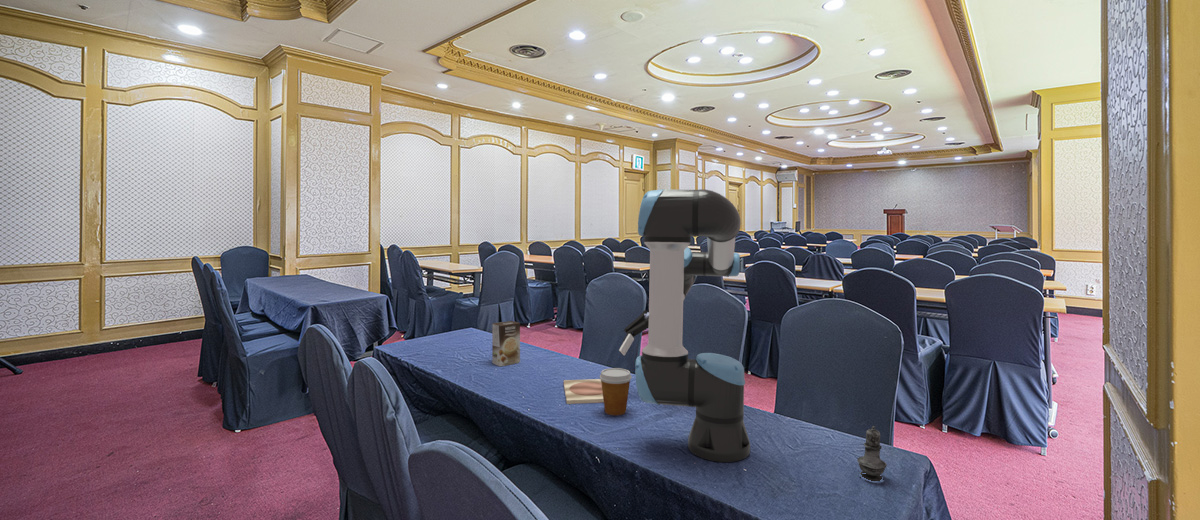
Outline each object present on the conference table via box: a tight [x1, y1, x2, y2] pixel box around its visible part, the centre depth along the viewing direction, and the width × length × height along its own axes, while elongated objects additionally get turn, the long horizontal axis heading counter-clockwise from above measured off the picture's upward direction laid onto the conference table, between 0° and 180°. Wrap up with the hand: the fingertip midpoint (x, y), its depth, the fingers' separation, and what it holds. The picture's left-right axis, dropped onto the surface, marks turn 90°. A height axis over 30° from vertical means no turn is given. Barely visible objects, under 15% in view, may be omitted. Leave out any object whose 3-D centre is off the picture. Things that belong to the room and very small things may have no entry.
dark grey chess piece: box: [857, 425, 888, 481], centre depth 119 cm, size 6×6×12 cm
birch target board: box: [563, 378, 604, 405], centre depth 176 cm, size 20×16×1 cm
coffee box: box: [491, 320, 521, 367], centre depth 210 cm, size 9×6×16 cm
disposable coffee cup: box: [599, 367, 632, 416], centre depth 159 cm, size 10×10×12 cm
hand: (637, 357), depth 165 cm, fingers open, 13 cm apart
